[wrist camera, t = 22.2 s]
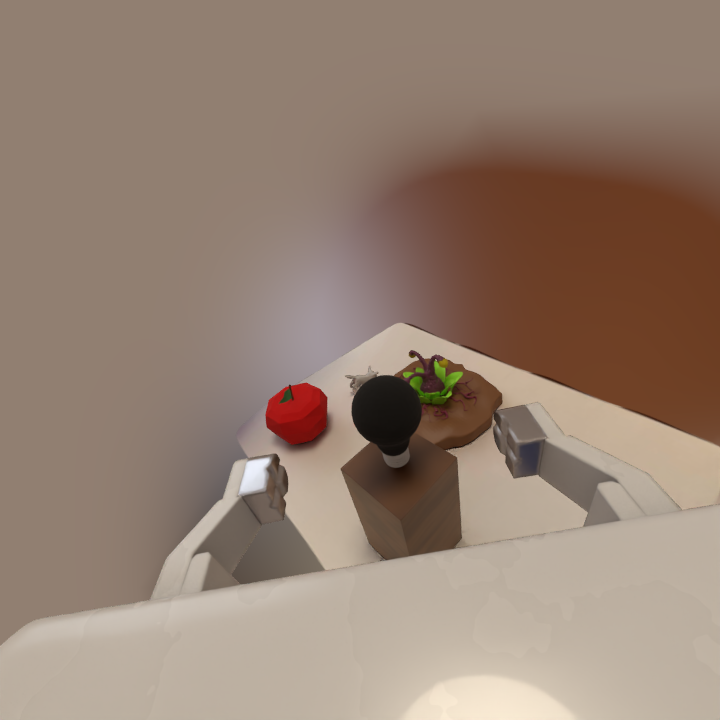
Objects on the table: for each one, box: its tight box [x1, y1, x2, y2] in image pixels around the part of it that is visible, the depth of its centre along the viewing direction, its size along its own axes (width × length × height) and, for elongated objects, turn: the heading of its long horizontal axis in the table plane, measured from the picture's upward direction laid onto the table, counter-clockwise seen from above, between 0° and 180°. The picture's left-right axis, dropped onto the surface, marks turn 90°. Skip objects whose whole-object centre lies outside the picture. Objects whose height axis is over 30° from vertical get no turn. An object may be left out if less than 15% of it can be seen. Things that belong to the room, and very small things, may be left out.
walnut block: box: [341, 433, 462, 560], centre depth 36 cm, size 8×8×15 cm
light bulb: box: [352, 375, 422, 468], centre depth 29 cm, size 6×6×10 cm
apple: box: [266, 383, 327, 445], centre depth 57 cm, size 11×11×10 cm
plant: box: [394, 350, 502, 450], centre depth 55 cm, size 20×20×11 cm
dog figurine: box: [345, 366, 379, 393], centre depth 64 cm, size 3×8×6 cm
